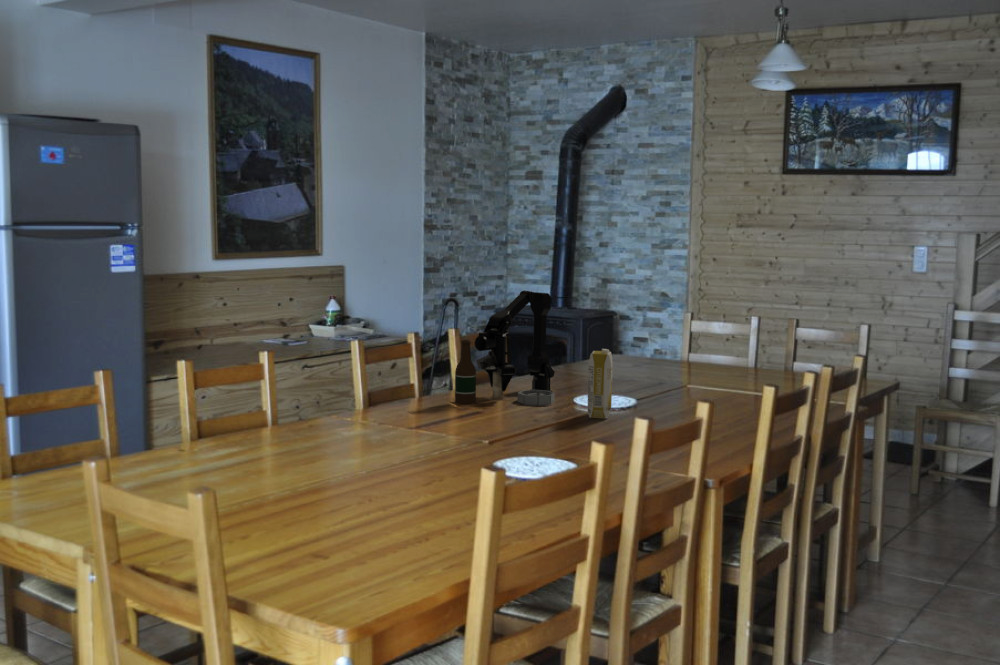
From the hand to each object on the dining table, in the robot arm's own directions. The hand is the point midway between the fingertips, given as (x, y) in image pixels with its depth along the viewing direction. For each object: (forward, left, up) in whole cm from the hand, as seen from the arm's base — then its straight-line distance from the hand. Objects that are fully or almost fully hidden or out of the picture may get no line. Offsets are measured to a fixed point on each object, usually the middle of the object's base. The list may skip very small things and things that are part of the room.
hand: (498, 389), depth 376 cm
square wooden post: (0, 0, -3) cm, 3 cm away
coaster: (0, 0, -4) cm, 4 cm away
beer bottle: (+15, +3, -4) cm, 16 cm away
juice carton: (-19, +42, -4) cm, 46 cm away
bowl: (-10, +12, -4) cm, 16 cm away
